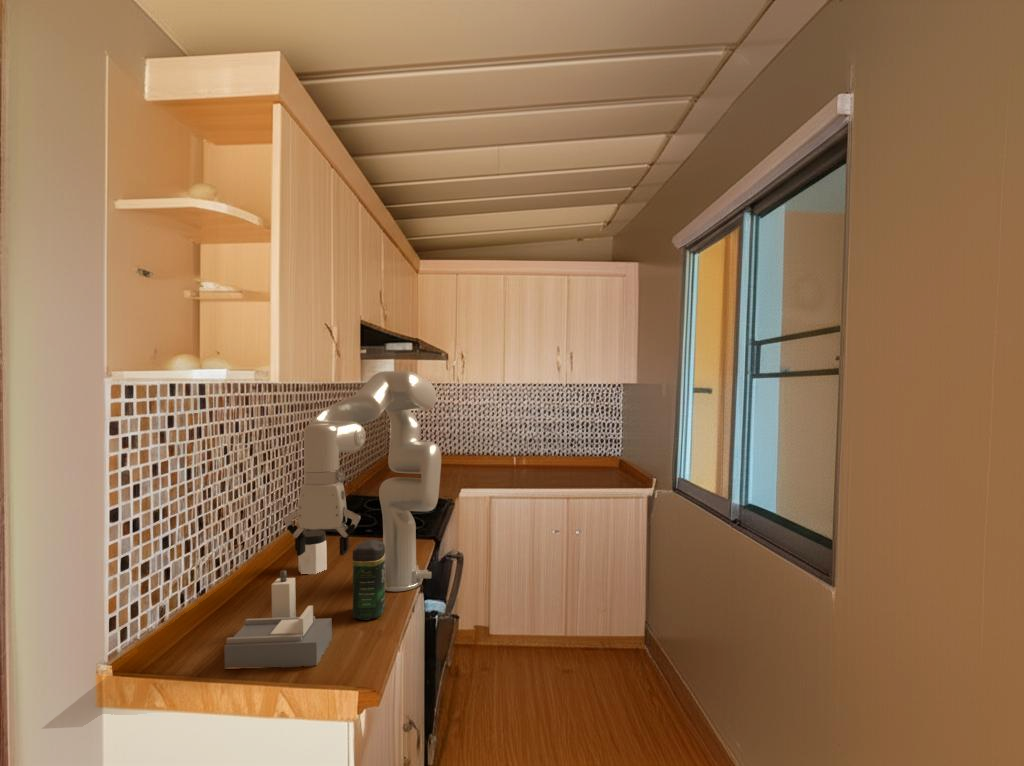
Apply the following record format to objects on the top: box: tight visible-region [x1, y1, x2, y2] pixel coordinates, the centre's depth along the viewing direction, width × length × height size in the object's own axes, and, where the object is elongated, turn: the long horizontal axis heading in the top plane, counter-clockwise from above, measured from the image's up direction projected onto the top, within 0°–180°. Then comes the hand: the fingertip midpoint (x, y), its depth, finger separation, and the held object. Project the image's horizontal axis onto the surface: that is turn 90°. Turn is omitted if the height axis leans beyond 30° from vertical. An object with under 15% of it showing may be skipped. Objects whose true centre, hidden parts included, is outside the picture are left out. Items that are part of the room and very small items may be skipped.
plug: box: [270, 569, 297, 618], centre depth 134 cm, size 4×4×14 cm
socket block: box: [223, 615, 333, 669], centre depth 122 cm, size 19×12×6 cm, turn 93°
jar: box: [297, 529, 328, 575], centre depth 176 cm, size 9×8×12 cm
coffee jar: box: [351, 539, 386, 621], centre depth 143 cm, size 10×8×19 cm
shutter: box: [270, 605, 314, 636], centre depth 122 cm, size 7×7×4 cm
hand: (322, 553), depth 125 cm, fingers open, 9 cm apart
